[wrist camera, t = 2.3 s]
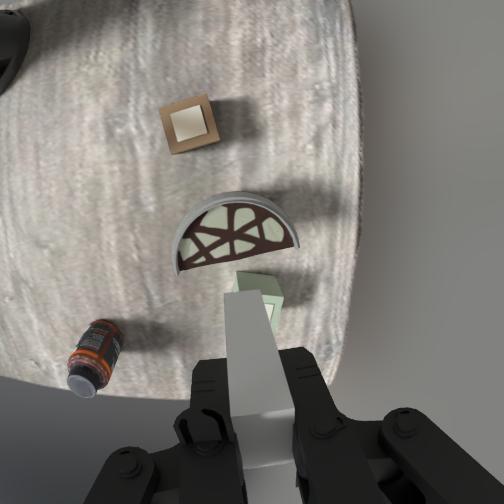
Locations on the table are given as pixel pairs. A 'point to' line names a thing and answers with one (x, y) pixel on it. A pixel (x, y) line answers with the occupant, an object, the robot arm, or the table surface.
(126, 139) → the table surface
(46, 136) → the table surface
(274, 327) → the sage block
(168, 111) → the walnut block
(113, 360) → the supplement bottle
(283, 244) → the food container
